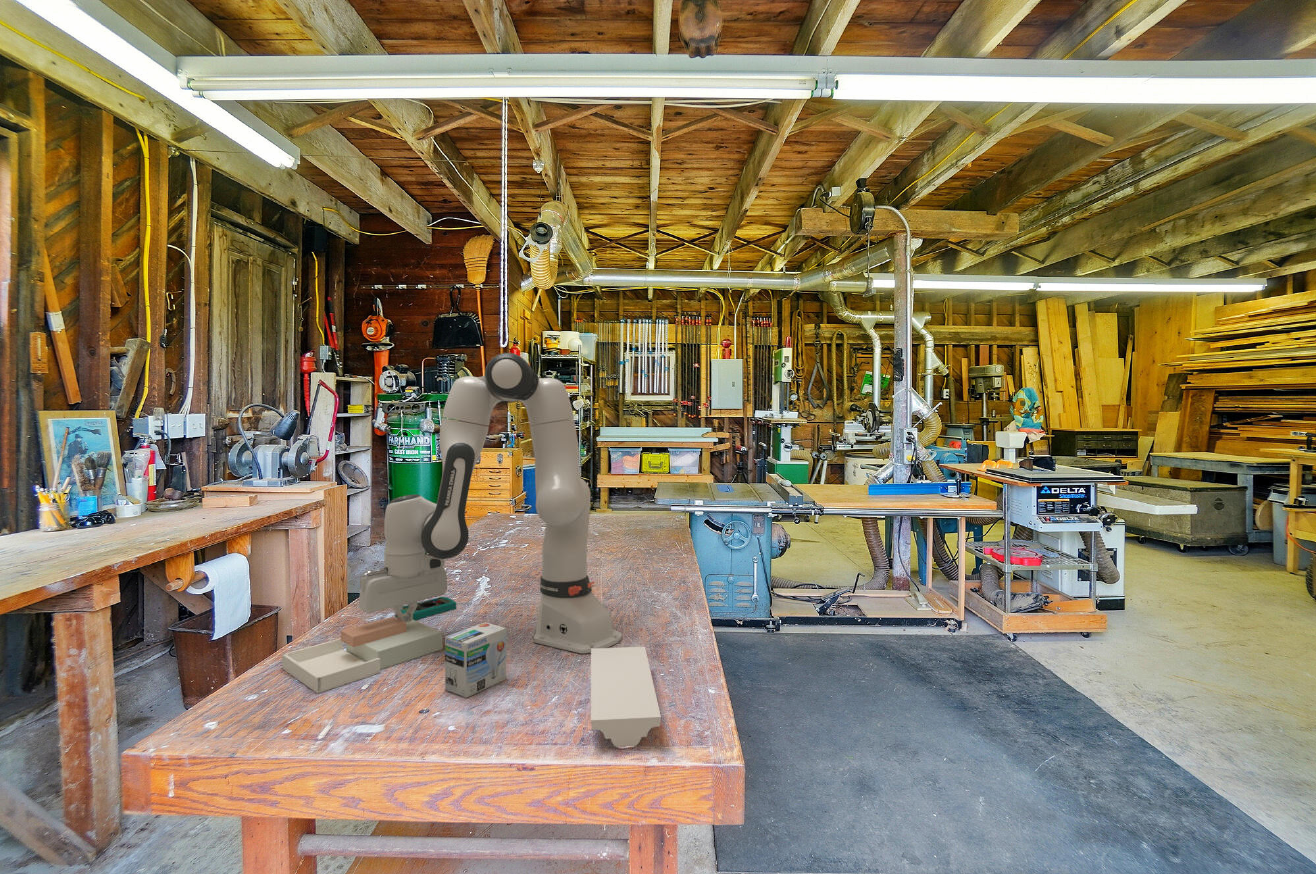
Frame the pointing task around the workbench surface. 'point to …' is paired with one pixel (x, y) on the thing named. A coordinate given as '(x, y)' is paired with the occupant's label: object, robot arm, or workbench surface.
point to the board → (400, 645)
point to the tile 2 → (390, 626)
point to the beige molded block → (622, 695)
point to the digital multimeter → (431, 607)
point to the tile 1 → (360, 635)
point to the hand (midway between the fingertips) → (405, 621)
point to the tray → (327, 666)
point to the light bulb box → (475, 659)
